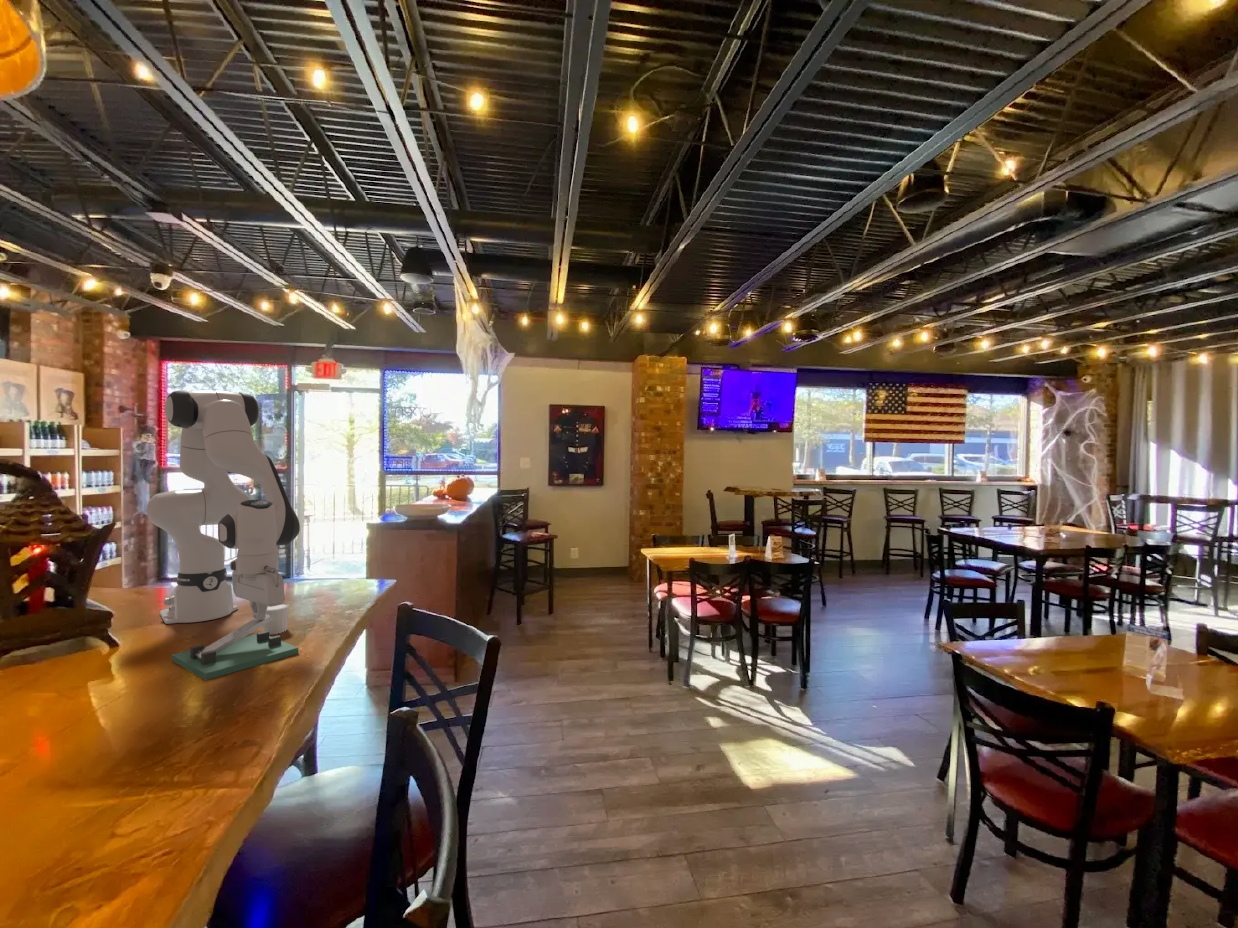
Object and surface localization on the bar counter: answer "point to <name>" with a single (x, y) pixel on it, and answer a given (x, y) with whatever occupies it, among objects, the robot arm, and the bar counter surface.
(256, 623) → the steel strap
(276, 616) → the white cylinder
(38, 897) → the bar counter surface
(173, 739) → the bar counter surface
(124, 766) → the bar counter surface
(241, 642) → the board
